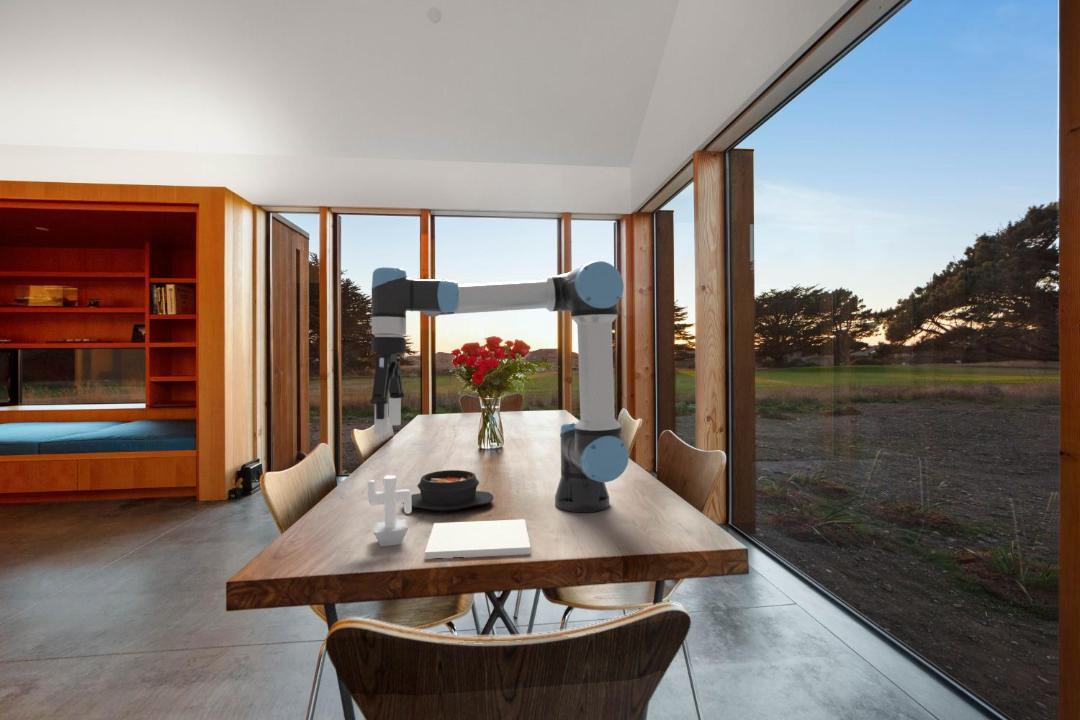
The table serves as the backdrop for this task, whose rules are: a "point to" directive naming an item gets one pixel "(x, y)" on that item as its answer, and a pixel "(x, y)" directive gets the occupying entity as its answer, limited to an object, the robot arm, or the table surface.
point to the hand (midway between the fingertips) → (388, 429)
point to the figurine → (390, 511)
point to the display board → (478, 539)
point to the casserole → (449, 491)
